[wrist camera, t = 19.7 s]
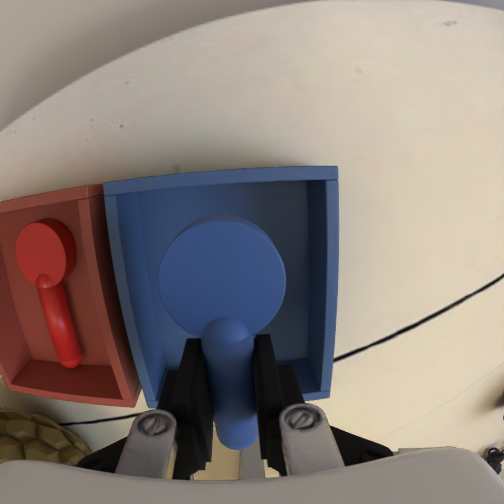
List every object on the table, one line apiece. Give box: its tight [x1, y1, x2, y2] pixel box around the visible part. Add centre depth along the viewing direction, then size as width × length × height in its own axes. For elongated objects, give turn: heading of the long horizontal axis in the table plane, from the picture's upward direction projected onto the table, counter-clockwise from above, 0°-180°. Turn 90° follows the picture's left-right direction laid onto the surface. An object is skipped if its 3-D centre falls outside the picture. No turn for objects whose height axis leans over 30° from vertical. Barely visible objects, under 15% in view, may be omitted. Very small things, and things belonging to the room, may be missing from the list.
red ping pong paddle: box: [16, 218, 83, 368], centre depth 16 cm, size 10×4×2 cm, turn 3°
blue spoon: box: [157, 214, 286, 450], centre depth 11 cm, size 10×4×2 cm, turn 3°
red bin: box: [0, 183, 142, 408], centre depth 16 cm, size 12×10×4 cm
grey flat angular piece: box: [239, 435, 265, 480], centre depth 19 cm, size 6×1×10 cm
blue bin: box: [103, 166, 339, 408], centre depth 16 cm, size 12×10×4 cm
